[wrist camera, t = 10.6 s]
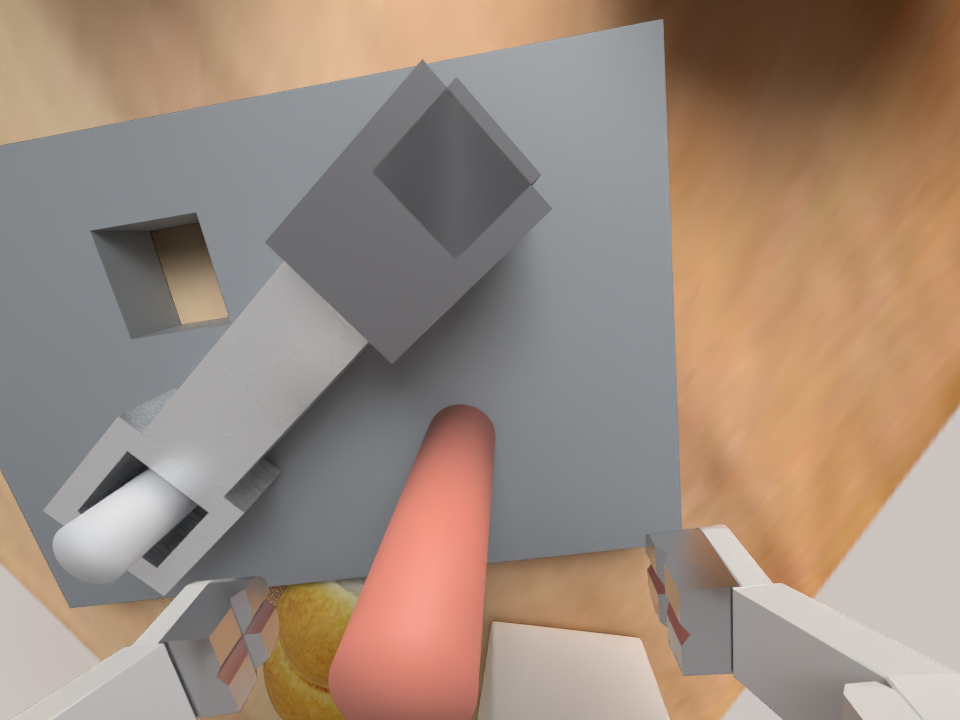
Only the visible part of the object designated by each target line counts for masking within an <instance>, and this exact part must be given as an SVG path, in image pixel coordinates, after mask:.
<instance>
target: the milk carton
mask: <svg viewBox="0 0 960 720" xmlns="http://www.w3.org/2000/svg"><path fill="white" fill-rule="evenodd" d="M477 720H670V718H669V715H668V712H667V710H666V707H665V704H664V701H663V699H662V696H661V693H660V690H659V687H658V685H657V682H656V679H655V676H654V674H653V671H652V668H651V665H650V663H649V660H648V657H647V654H646V651H645V649H644V646H643V643H642V641H641V639H640V638H637V637H629V636H621V635H612V634H604V633H595V632H586V631H577V630H569V629H560V628H551V627H542V626H533V625H524V624H515V623H506V622H497V621H493V622H492V625H491V630H490V637H489V643H488V650H487V657H486V664H485V671H484V678H483V685H482V691H481V698H480V705H479V712H478V719H477Z"/></svg>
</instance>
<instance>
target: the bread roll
mask: <svg viewBox="0 0 960 720" xmlns="http://www.w3.org/2000/svg"><path fill="white" fill-rule="evenodd" d="M366 579H367V576H366V577H357V578H347V579H338V580H328V581H319V582H310V583H300V584H291V585H288V586H287V587H286V588H285V590H284V591H283V592H282V594H281V595H280V597H279V600H278V602H277V605H276V611H277V614H278V617H279V633H278V638H277V642H276V646H275V648H274V649H273V651H272V653H271V655H270V657H269V658H268V659H267V660H266V661H265V662H264V668H263V669H264V678H265V683H266V687H267V691H268V694H269V697H270V699H271V701H272V704H273V706H274V708H275V710H276V711H277V713H278V714H279V716H280V717H281V718H282V719H283V720H347V719H346V718H345V717H344V716H343V714H342V713H341V712H340V711H339V709H338V708H337V707H336V705H335V703H334V701H333V699H332V696H331V694H330V690H329V684H328V677H329V670H330V667H331V665H332V662H333V659H334V657H335V655H336V652H337V650H338V647H339V645H340V642H341V640H342V637H343V635H344V633H345V630H346V628H347V625H348V623H349V620H350V618H351V615H352V613H353V611H354V608H355V606H356V603H357V601H358V598H359V596H360V593H361V591H362V589H363V586H364V584H365V581H366Z"/></svg>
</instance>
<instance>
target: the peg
mask: <svg viewBox="0 0 960 720" xmlns="http://www.w3.org/2000/svg"><path fill="white" fill-rule="evenodd" d="M495 438H496V436H495V429H494V426H493V424H492V422H491V420H490V419H489V417H488V416H487V415H486V414H485V413H484V412H482V411H481V410H479V409H477V408H475V407H473V406H469V405H463V404H457V405H451V406H448V407H446V408H444V409H442V410H440V411H439V412H438V413H437V414H436V415H435V416H434V417H433V419H432V421H431V422H430V425H429V427H428V430H427V432H426V435H425V437H424V439H423V442H422V444H421V447H420V449H419V452H418V454H417V457H416V459H415V461H414V464H413V466H412V469H411V471H410V474H409V476H408V479H407V481H406V483H405V486H404V488H403V491H402V493H401V496H400V498H399V501H398V503H397V505H396V508H395V510H394V513H393V515H392V518H391V520H390V523H389V525H388V527H387V530H386V532H385V535H384V537H383V540H382V542H381V545H380V547H379V549H378V552H377V554H376V557H375V559H374V562H373V564H372V567H371V569H370V571H369V574H368V576H367V579H366V581H365V584H364V586H363V589H362V591H361V593H360V596H359V598H358V601H357V603H356V606H355V608H354V611H353V613H352V615H351V618H350V620H349V623H348V625H347V628H346V630H345V633H344V635H343V637H342V640H341V642H340V645H339V647H338V650H337V652H336V655H335V657H334V659H333V662H332V665H331V667H330V670H329V677H328V684H329V690H330V694H331V696H332V699H333V701H334V703H335V705H336V707H337V708H338V709H339V711H340V712H341V713H342V714H343V716H344V717H345V718H346V719H347V720H470V719H471V718H472V716H473V714H474V712H475V709H476V706H477V700H478V688H479V673H480V659H481V644H482V629H483V615H484V600H485V585H486V571H487V556H488V541H489V526H490V512H491V497H492V482H493V468H494V453H495Z"/></svg>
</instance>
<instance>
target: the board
mask: <svg viewBox="0 0 960 720" xmlns="http://www.w3.org/2000/svg"><path fill="white" fill-rule="evenodd" d="M193 223H200V226H201V229H202V232H203V236H204V239H205V242H206V245H207V248H208V252H209V255H210V258H211V261H212V264H213V268H214V271H215V274H216V277H217V280H218V284H219V287H220V290H221V293H222V296H223V300H224V303H225V306H226V309H227V312H228V316H229V317H228V318H222V319H216V320H209V321H203V322H196V323H190V324H183V325H181V323H180V320H179V317H178V314H177V311H176V308H175V305H174V302H173V299H172V296H171V294H170V291H169V288H168V285H167V282H166V279H165V276H164V273H163V270H162V267H161V264H160V262H159V259H158V256H157V253H156V250H155V247H154V244H153V241H152V238H151V235H150V232H149V231H153V230H158V229H164V228H170V227H176V226H182V225H188V224H193ZM284 261H285V262H286V263H287V264H288V265H289V266H290V267H291V268H292V269H293V270H294V271H295V272H296V273H297V274H298V275H299V276H300V277H302V278H303V279H304V280H305V281H306V282H307V283H308V284H309V285H310V286H311V287H312V288H313V289H314V290H315V291H316V292H317V293H318V294H319V295H320V296H321V297H322V298H323V299H324V300H325V301H327V302H328V303H329V304H330V305H331V306H332V307H333V308H334V309H335V310H336V311H337V312H338V313H339V314H340V315H341V316H342V317H343V318H344V319H345V320H346V321H347V322H348V323H349V324H351V325H352V326H353V327H354V328H355V329H356V330H357V331H358V332H359V333H360V334H361V335H362V336H363V337H364V338H365V339H366V340H367V341H368V342H369V343H370V345H369V346H368V347H367V348H366V349H365V350H364V351H363V353H362V354H361V355H360V356H359V357H358V358H357V359H356V360H355V361H354V362H353V363H352V364H351V365H350V366H349V367H348V369H347V370H346V371H345V372H344V373H343V374H342V375H341V376H340V377H339V378H338V379H337V380H336V381H335V382H334V383H333V385H332V386H331V387H330V388H329V389H328V390H327V391H326V392H325V393H324V394H323V395H322V396H321V397H320V398H319V399H318V401H317V402H316V403H315V404H314V405H313V406H312V407H311V408H310V409H309V410H308V411H307V412H306V413H305V414H304V415H303V417H302V418H301V419H300V420H299V421H298V422H297V423H296V424H295V425H294V426H293V427H292V428H291V429H290V430H289V431H288V433H287V434H286V435H285V436H284V437H283V438H282V439H281V440H280V441H279V442H278V443H277V444H276V445H275V446H274V447H273V449H272V450H271V451H270V452H269V453H268V454H267V455H266V456H265V457H264V458H265V459H266V460H268V461H269V462H270V463H271V464H273V465H274V466H275V467H276V468H278V469H279V470H280V471H281V473H280V474H279V475H278V476H277V477H276V478H275V479H274V480H273V482H272V483H271V484H270V485H269V486H268V487H267V488H266V489H265V490H264V492H263V493H262V494H261V495H260V496H259V497H258V498H257V499H256V501H255V502H254V503H253V504H252V505H251V506H250V507H249V508H248V509H247V511H246V512H245V513H244V514H243V515H242V516H241V517H240V518H239V519H238V520H237V521H236V522H235V523H234V524H233V525H232V526H231V527H230V528H229V529H228V530H227V531H226V533H225V534H224V535H223V536H222V537H221V538H220V539H219V540H218V541H217V542H216V543H215V544H214V545H213V546H212V547H211V548H210V549H209V550H208V551H207V552H206V553H205V554H204V555H203V556H202V557H201V558H200V559H199V561H198V562H197V563H196V564H195V565H194V566H193V567H192V568H191V569H190V570H189V571H188V572H187V573H186V574H185V575H184V576H183V577H182V578H181V579H180V580H179V581H178V582H177V583H176V584H175V585H174V586H173V587H172V589H171V590H170V591H169V592H168V593H167V594H166V595H165V596H163V595H162V594H160V593H159V592H157V591H156V590H155V589H153V588H152V587H150V586H149V585H147V584H146V583H145V582H143V581H142V580H140V579H139V578H137V577H136V576H135V575H133V574H132V573H130V572H129V571H128V569H129V568H130V567H131V566H132V565H133V564H134V563H135V562H136V561H138V560H139V559H140V558H141V557H142V556H143V555H144V554H145V553H146V552H147V551H148V550H150V549H151V548H152V547H153V546H154V545H155V544H156V543H157V542H158V541H159V540H160V539H162V538H163V537H164V536H165V535H166V534H167V533H168V532H169V531H170V530H171V529H173V528H174V527H175V526H176V525H177V524H178V523H179V522H180V521H181V520H182V519H183V518H185V517H186V516H187V515H188V514H189V513H190V512H191V511H193V512H194V513H196V514H197V515H198V516H200V517H201V518H202V519H203V518H204V517H205V516H206V515H207V514H208V513H209V512H207V511H206V510H205V509H203V508H202V507H201V506H199V505H198V504H197V503H195V502H194V501H193V500H191V499H190V498H189V497H187V496H186V495H185V494H183V493H182V492H181V491H179V490H178V489H177V488H176V487H174V486H173V485H172V484H170V483H169V482H168V481H166V480H165V479H164V478H162V477H161V476H160V475H158V474H157V473H156V472H154V471H153V470H152V469H150V468H149V467H148V466H146V465H145V464H144V465H143V466H142V467H141V468H140V469H139V471H140V472H141V474H140V475H138V476H137V477H136V478H134V479H133V480H131V481H130V482H128V483H127V484H125V485H124V486H122V487H121V488H119V489H118V490H116V491H115V492H113V493H112V494H110V495H109V496H108V497H106V498H105V499H103V500H102V501H100V502H99V503H97V504H96V505H94V506H93V507H91V508H90V509H88V510H87V511H85V512H84V513H83V514H81V515H80V516H78V517H77V518H75V519H74V520H72V521H71V522H69V523H68V524H66V525H65V526H63V525H62V524H61V523H59V522H58V521H56V520H55V519H54V518H52V517H51V516H49V515H48V514H46V513H45V512H44V511H43V510H44V509H45V507H46V506H47V505H48V504H49V502H50V501H51V500H52V499H53V497H54V496H55V495H56V494H57V492H58V491H59V490H60V489H61V487H62V486H63V485H64V484H65V482H66V481H67V480H68V479H69V477H70V476H71V475H72V474H73V472H74V471H75V470H76V469H77V467H78V466H79V465H80V464H81V462H82V461H83V460H84V459H85V457H86V456H87V455H88V454H89V452H90V451H91V450H92V449H93V447H94V446H95V445H96V443H97V442H98V441H99V440H100V438H101V437H102V436H103V435H104V433H105V432H106V431H107V430H108V428H109V427H110V426H111V425H112V423H113V422H114V421H115V420H116V418H117V417H118V416H120V415H122V414H124V413H126V412H128V411H130V410H132V409H134V408H136V407H138V406H140V405H142V404H144V403H146V402H148V401H151V400H153V399H155V398H157V397H159V396H161V395H163V394H165V393H167V392H169V391H171V390H173V389H175V388H178V389H179V388H180V386H181V385H182V384H183V383H184V382H185V380H186V379H187V378H188V377H189V376H190V374H191V373H192V372H193V371H194V370H195V368H196V367H197V366H198V365H199V363H200V362H201V361H202V360H203V359H204V357H205V356H206V355H207V354H208V353H209V351H210V350H211V349H212V348H213V347H214V345H215V344H216V343H217V342H218V340H219V339H220V338H221V337H222V336H223V334H224V333H225V332H226V331H227V330H228V328H229V327H230V326H231V325H232V324H233V322H234V321H235V320H236V319H237V318H238V316H239V315H240V314H241V313H242V311H243V310H244V309H245V308H246V307H247V305H248V304H249V303H250V302H251V301H252V299H253V298H254V297H255V296H256V295H257V293H258V292H259V291H260V290H261V288H262V287H263V286H264V285H265V284H266V282H267V281H268V280H269V279H270V278H271V276H272V275H273V274H274V273H275V272H276V270H277V269H278V268H279V267H280V265H281V264H282V263H283V262H284ZM457 404H463V405H469V406H473V407H475V408H477V409H479V410H481V411H482V412H484V413H485V414H486V415H487V416H488V417H489V419H490V420H491V422H492V424H493V426H494V429H495V436H496V438H495V453H494V468H493V482H492V497H491V512H490V526H489V541H488V556H487V564H488V563H497V562H506V561H516V560H525V559H534V558H544V557H553V556H563V555H572V554H581V553H591V552H600V551H609V550H619V549H628V548H637V547H645V537H646V534H651V533H659V532H668V531H677V530H682V518H681V491H680V463H679V436H678V409H677V382H676V354H675V327H674V300H673V272H672V245H671V218H670V191H669V163H668V136H667V109H666V81H665V54H664V27H663V19H659V20H654V21H649V22H643V23H638V24H633V25H628V26H622V27H617V28H612V29H607V30H602V31H596V32H591V33H586V34H581V35H575V36H570V37H565V38H560V39H555V40H549V41H544V42H539V43H534V44H528V45H523V46H518V47H513V48H508V49H502V50H497V51H492V52H487V53H481V54H476V55H471V56H466V57H461V58H455V59H450V60H445V61H440V62H434V63H429V64H426V63H425V62H424V61H423V60H421V62H420V63H419V64H418V65H417V66H414V67H408V68H403V69H398V70H393V71H387V72H382V73H377V74H372V75H366V76H361V77H356V78H351V79H346V80H340V81H335V82H330V83H325V84H319V85H314V86H309V87H304V88H299V89H293V90H288V91H283V92H278V93H272V94H267V95H262V96H257V97H252V98H246V99H241V100H236V101H231V102H225V103H220V104H215V105H210V106H205V107H199V108H194V109H189V110H184V111H178V112H173V113H168V114H163V115H158V116H152V117H147V118H142V119H137V120H131V121H126V122H121V123H116V124H111V125H105V126H100V127H95V128H90V129H84V130H79V131H74V132H69V133H64V134H58V135H53V136H48V137H43V138H37V139H32V140H27V141H22V142H16V143H11V144H6V145H1V146H0V470H1V472H2V474H3V476H4V478H5V480H6V482H7V484H8V486H9V488H10V490H11V492H12V494H13V496H14V498H15V500H16V502H17V504H18V506H19V508H20V510H21V512H22V514H23V516H24V518H25V520H26V522H27V524H28V526H29V528H30V530H31V532H32V534H33V536H34V538H35V540H36V542H37V544H38V546H39V548H40V550H41V552H42V554H43V556H44V558H45V560H46V562H47V564H48V566H49V568H50V570H51V572H52V574H53V576H54V577H55V579H56V581H57V583H58V585H59V587H60V589H61V591H62V593H63V595H64V597H65V599H66V601H67V603H68V605H69V607H70V608H76V607H85V606H94V605H104V604H113V603H123V602H132V601H141V600H151V599H160V598H169V597H176V596H177V595H178V594H179V593H180V592H181V591H182V590H183V589H184V588H185V586H186V585H188V584H191V583H193V582H195V581H205V580H216V579H225V578H237V577H249V576H260V577H263V578H265V580H266V582H267V585H268V587H272V586H282V585H291V584H300V583H310V582H319V581H328V580H338V579H347V578H357V577H366V576H368V574H369V571H370V569H371V567H372V564H373V562H374V559H375V557H376V554H377V552H378V549H379V547H380V545H381V542H382V540H383V537H384V535H385V532H386V530H387V527H388V525H389V523H390V520H391V518H392V515H393V513H394V510H395V508H396V505H397V503H398V501H399V498H400V496H401V493H402V491H403V488H404V486H405V483H406V481H407V479H408V476H409V474H410V471H411V469H412V466H413V464H414V461H415V459H416V457H417V454H418V452H419V449H420V447H421V444H422V442H423V439H424V437H425V435H426V432H427V430H428V427H429V425H430V422H431V421H432V419H433V417H434V416H435V415H436V414H437V413H438V412H439V411H440V410H442V409H444V408H446V407H448V406H451V405H457Z"/></svg>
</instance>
